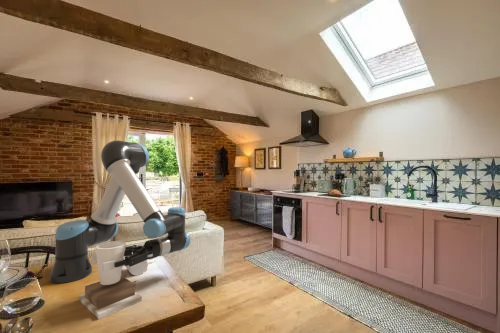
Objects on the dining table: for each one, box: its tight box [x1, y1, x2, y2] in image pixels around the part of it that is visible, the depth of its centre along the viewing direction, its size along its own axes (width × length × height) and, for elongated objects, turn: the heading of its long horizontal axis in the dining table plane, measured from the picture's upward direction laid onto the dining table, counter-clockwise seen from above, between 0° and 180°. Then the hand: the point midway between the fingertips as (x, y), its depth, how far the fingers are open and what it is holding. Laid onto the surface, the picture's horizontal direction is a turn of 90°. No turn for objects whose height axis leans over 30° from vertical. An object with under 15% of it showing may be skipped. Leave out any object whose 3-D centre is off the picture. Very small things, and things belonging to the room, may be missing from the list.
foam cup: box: [95, 240, 127, 285], centre depth 87 cm, size 10×9×13 cm
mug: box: [124, 252, 155, 276], centre depth 113 cm, size 12×10×8 cm
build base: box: [78, 275, 143, 320], centre depth 87 cm, size 18×14×6 cm
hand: (97, 263), depth 84 cm, fingers closed on foam cup, 9 cm apart
